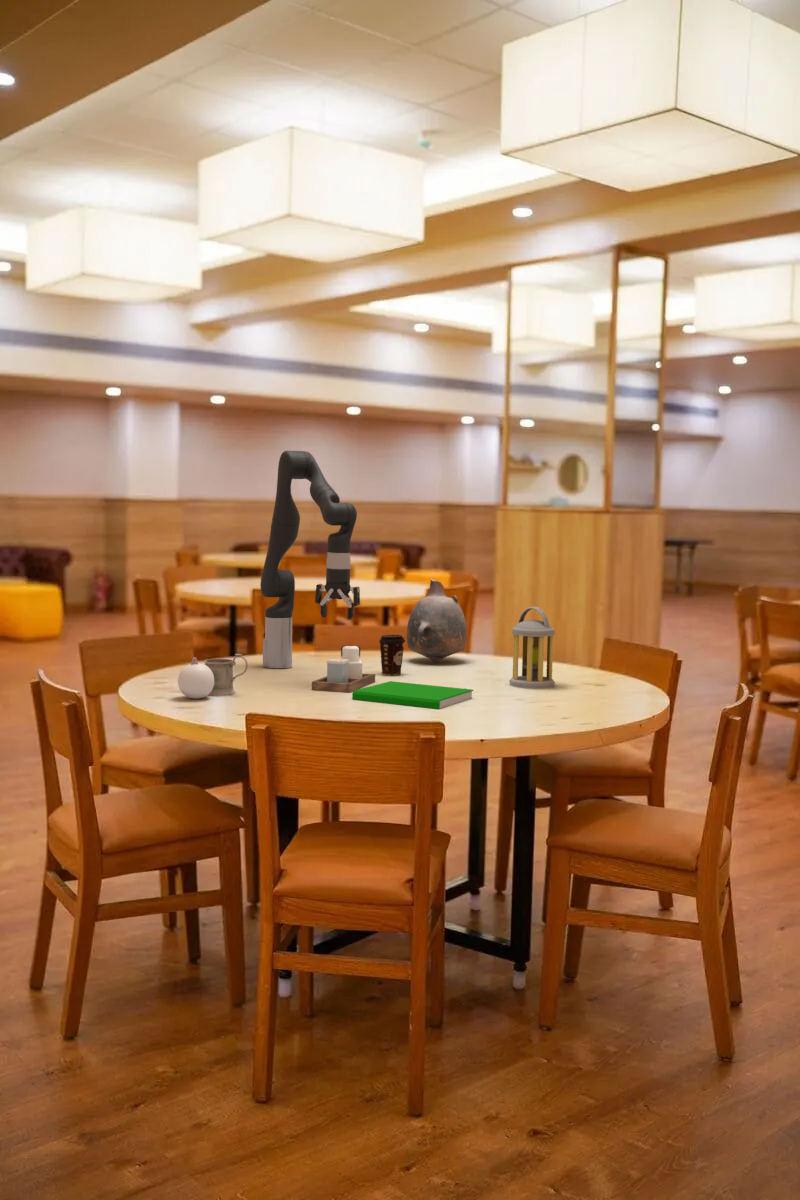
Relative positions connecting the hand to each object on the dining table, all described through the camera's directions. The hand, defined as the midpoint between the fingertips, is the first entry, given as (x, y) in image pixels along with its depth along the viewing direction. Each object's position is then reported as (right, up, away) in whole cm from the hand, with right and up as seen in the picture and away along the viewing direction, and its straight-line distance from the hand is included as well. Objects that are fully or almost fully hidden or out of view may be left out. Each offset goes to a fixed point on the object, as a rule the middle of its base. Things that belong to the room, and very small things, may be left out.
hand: (336, 618), depth 375 cm
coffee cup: (+17, -19, +22) cm, 34 cm away
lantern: (+62, -21, +4) cm, 65 cm away
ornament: (-39, -23, -30) cm, 54 cm away
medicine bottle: (+4, -21, +2) cm, 21 cm away
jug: (+33, -17, +53) cm, 65 cm away
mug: (-32, -22, -21) cm, 44 cm away
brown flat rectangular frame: (+2, -21, -3) cm, 21 cm away
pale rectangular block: (+1, -21, -8) cm, 23 cm away
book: (+24, -24, -25) cm, 42 cm away
